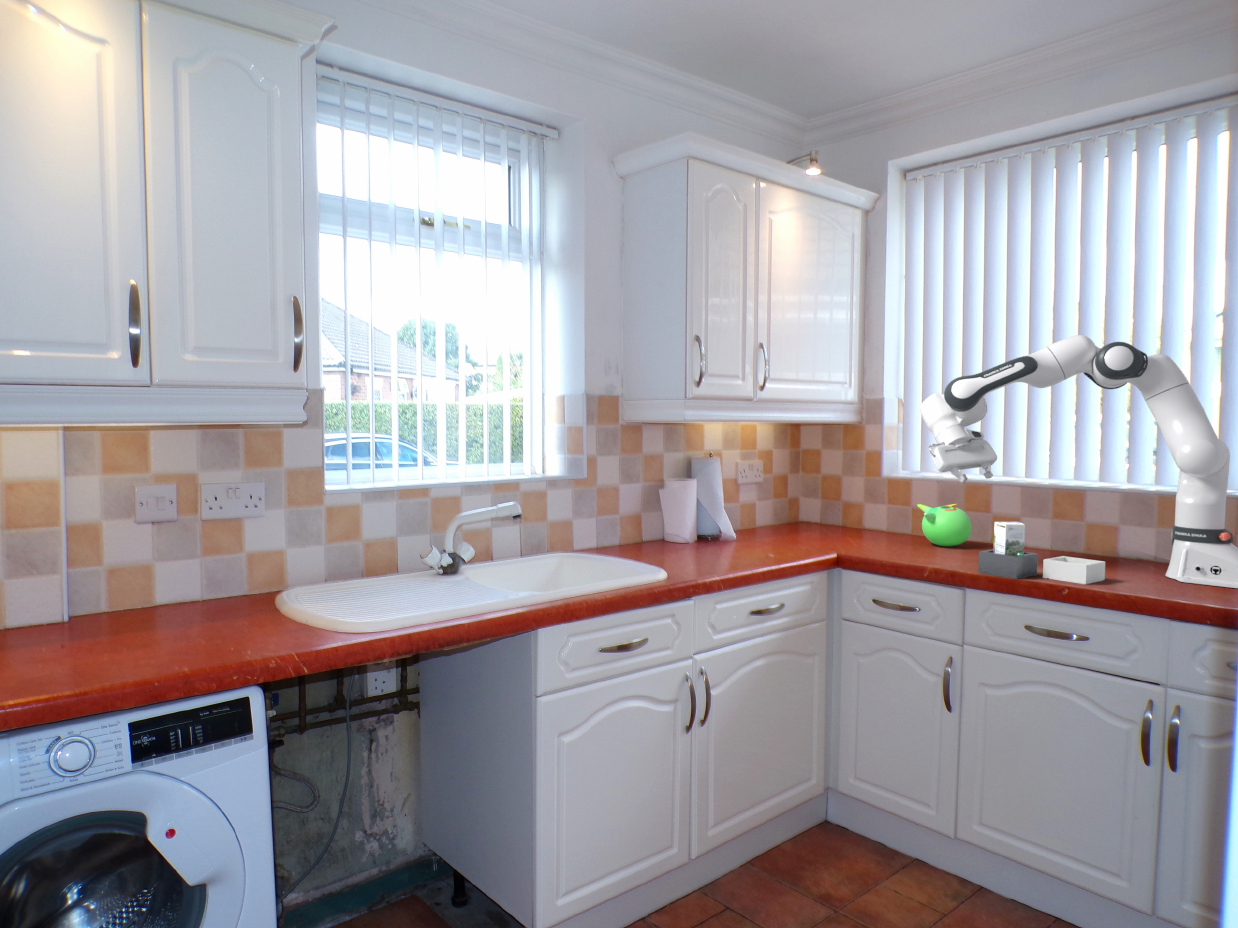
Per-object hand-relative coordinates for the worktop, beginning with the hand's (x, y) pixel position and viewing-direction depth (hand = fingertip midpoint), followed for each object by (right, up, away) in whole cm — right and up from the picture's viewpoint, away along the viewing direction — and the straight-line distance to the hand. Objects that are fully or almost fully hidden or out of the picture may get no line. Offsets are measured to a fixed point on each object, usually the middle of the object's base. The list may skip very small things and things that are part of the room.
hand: (977, 479), depth 236 cm
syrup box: (+3, -26, -11) cm, 29 cm away
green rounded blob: (+7, -24, +42) cm, 49 cm away
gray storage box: (+3, -26, -11) cm, 29 cm away
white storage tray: (+18, -27, -18) cm, 37 cm away
